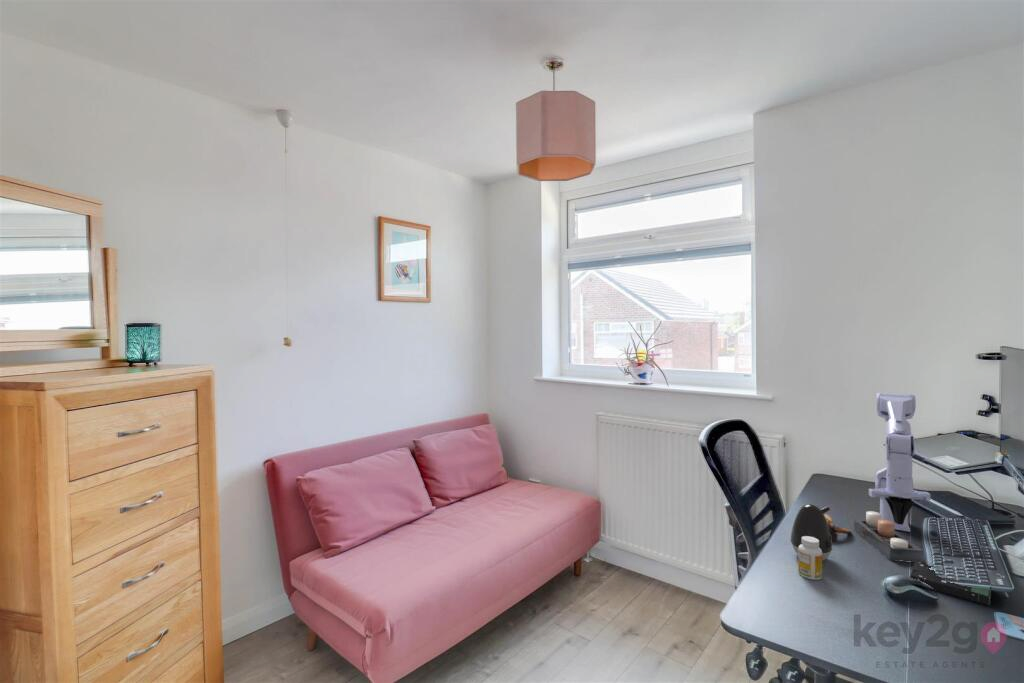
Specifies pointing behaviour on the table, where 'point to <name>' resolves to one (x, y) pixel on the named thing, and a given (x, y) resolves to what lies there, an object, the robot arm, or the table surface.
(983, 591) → the disk drive
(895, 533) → the panel
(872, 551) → the table surface
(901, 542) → the knob
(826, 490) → the table surface
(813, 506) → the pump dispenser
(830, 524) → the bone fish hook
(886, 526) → the brown egg
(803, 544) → the supplement bottle
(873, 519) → the knob
